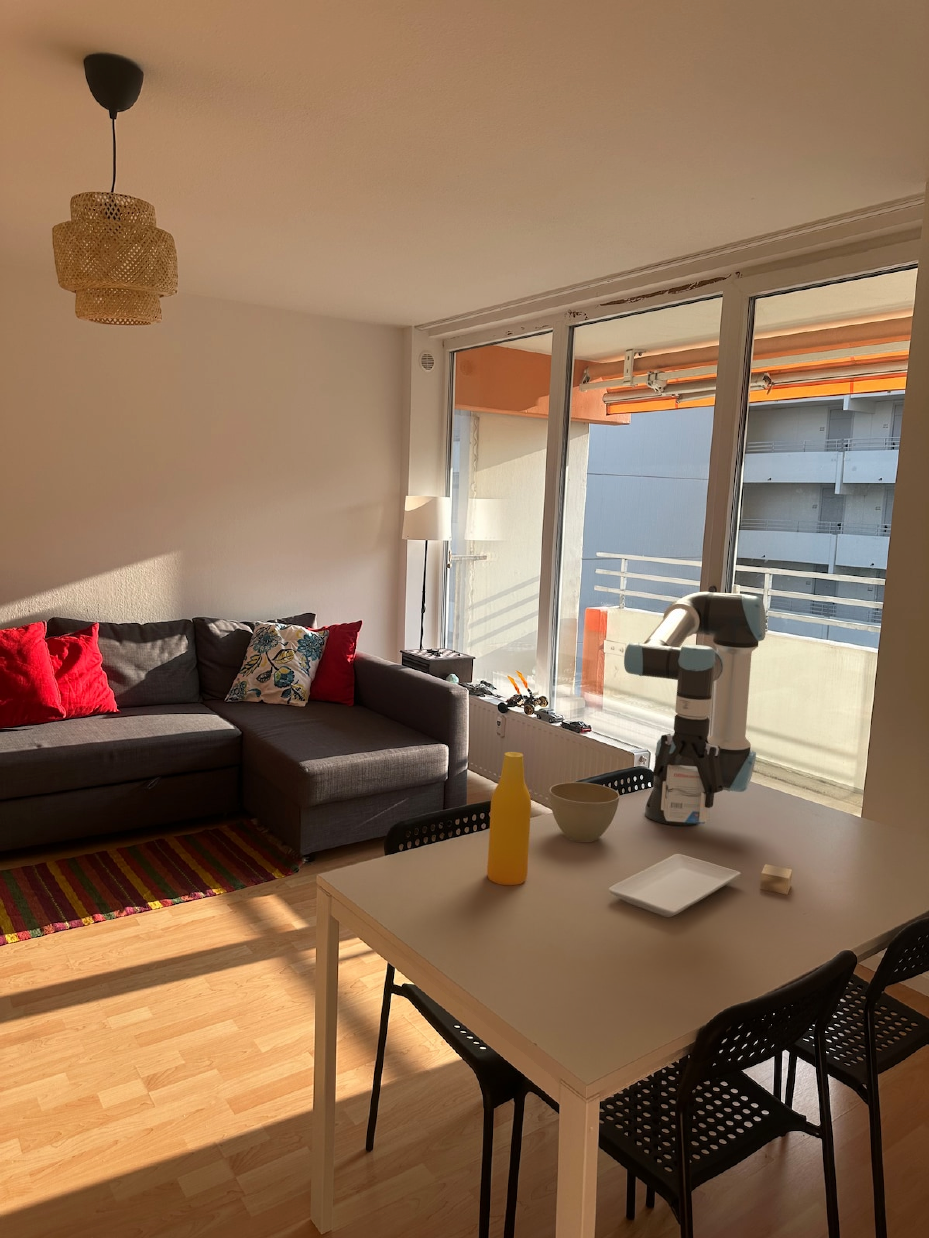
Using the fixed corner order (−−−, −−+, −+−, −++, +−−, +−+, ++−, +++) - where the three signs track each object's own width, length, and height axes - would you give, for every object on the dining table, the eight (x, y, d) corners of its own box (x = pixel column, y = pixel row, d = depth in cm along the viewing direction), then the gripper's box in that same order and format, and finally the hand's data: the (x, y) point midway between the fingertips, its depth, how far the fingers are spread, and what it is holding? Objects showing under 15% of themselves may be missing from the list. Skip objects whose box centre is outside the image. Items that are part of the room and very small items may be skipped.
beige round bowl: (626, 835, 235) (630, 790, 234) (599, 855, 220) (602, 807, 219) (565, 820, 245) (568, 777, 243) (534, 838, 229) (537, 792, 228)
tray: (604, 902, 194) (605, 886, 193) (676, 865, 217) (677, 851, 217) (674, 928, 182) (675, 912, 182) (741, 886, 206) (743, 872, 205)
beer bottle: (535, 878, 204) (542, 755, 200) (509, 889, 197) (516, 762, 194) (504, 866, 210) (511, 746, 207) (478, 876, 203) (484, 753, 200)
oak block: (759, 889, 204) (761, 872, 204) (763, 880, 210) (765, 864, 209) (787, 895, 202) (789, 878, 201) (790, 886, 207) (792, 869, 207)
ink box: (701, 817, 200) (705, 766, 199) (705, 824, 195) (709, 772, 194) (663, 814, 201) (667, 763, 200) (665, 821, 196) (669, 769, 195)
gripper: (641, 708, 201) (634, 804, 203) (727, 727, 185) (719, 832, 187) (660, 704, 206) (653, 799, 208) (746, 723, 190) (737, 825, 192)
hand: (684, 814), depth 198 cm, fingers closed on ink box, 9 cm apart
